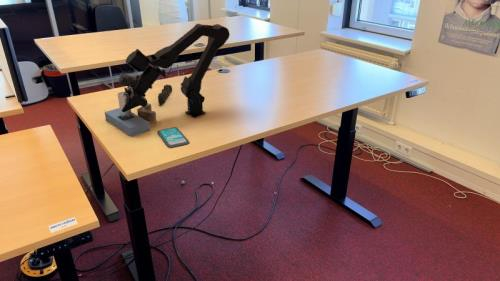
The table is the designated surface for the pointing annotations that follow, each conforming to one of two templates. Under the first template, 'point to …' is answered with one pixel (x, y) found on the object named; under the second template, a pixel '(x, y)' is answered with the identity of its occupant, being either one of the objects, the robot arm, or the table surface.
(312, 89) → the table surface
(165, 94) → the hand tool
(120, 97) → the axle
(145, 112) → the v block
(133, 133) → the grey block with hole
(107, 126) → the table surface
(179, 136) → the smartphone
